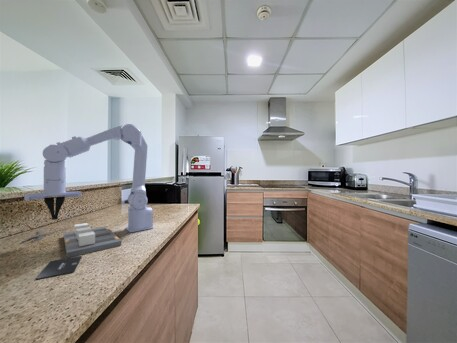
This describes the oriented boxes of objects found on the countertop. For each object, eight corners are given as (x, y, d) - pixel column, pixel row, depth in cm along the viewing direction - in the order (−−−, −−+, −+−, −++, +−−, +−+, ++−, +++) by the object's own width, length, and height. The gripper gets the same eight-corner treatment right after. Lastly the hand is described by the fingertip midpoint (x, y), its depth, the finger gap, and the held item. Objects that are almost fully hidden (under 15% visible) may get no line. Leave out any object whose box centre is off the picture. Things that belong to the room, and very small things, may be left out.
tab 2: (90, 235, 70) (90, 226, 70) (91, 237, 67) (91, 228, 67) (76, 237, 67) (76, 228, 67) (77, 240, 64) (77, 231, 64)
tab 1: (87, 230, 75) (87, 222, 75) (88, 232, 72) (88, 224, 72) (74, 232, 72) (74, 224, 72) (75, 234, 70) (75, 226, 70)
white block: (93, 240, 64) (93, 231, 64) (95, 243, 62) (95, 233, 62) (78, 243, 61) (78, 234, 61) (79, 246, 59) (79, 236, 59)
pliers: (71, 224, 88) (57, 237, 70) (71, 226, 88) (57, 240, 70) (42, 227, 83) (20, 242, 65) (42, 229, 83) (20, 244, 65)
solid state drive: (81, 258, 56) (82, 255, 56) (73, 274, 47) (73, 271, 47) (50, 263, 53) (50, 260, 53) (35, 282, 44) (35, 279, 44)
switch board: (107, 229, 81) (107, 225, 81) (121, 245, 65) (121, 240, 65) (63, 237, 72) (63, 233, 72) (67, 257, 55) (67, 252, 55)
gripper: (79, 179, 75) (79, 214, 75) (26, 180, 65) (25, 220, 65) (81, 179, 70) (81, 217, 70) (23, 181, 60) (23, 224, 60)
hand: (54, 219), depth 67 cm, fingers closed
